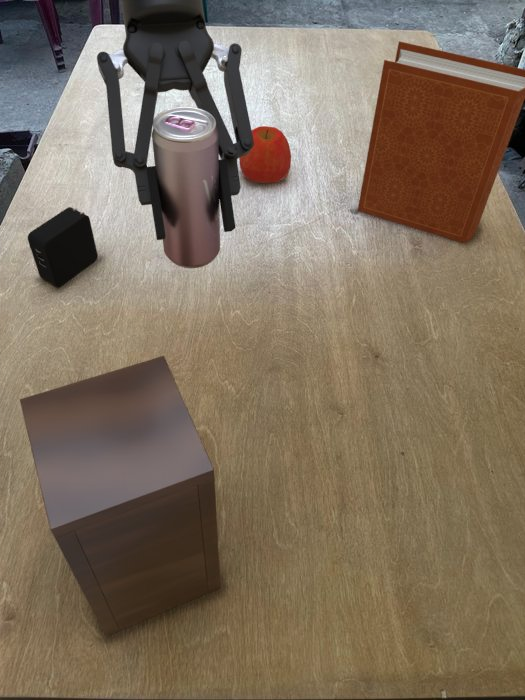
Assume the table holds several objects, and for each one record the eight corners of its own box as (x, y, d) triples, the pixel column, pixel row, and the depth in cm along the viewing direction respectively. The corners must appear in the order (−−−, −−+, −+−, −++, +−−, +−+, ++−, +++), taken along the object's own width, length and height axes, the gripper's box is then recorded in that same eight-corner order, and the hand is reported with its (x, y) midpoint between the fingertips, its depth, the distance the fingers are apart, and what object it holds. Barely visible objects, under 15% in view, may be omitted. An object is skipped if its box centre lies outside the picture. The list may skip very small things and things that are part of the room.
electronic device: (40, 279, 109) (25, 234, 101) (82, 249, 114) (71, 204, 107) (57, 289, 107) (43, 244, 100) (98, 259, 113) (89, 213, 105)
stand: (77, 529, 79) (19, 398, 58) (182, 490, 83) (163, 355, 62) (106, 636, 71) (50, 529, 50) (220, 587, 75) (214, 469, 54)
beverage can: (182, 228, 69) (172, 99, 58) (230, 244, 68) (229, 115, 56) (153, 259, 66) (137, 128, 54) (203, 278, 64) (197, 147, 53)
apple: (250, 195, 127) (251, 148, 119) (230, 167, 133) (230, 121, 125) (298, 184, 130) (302, 137, 122) (276, 157, 136) (278, 111, 128)
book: (357, 210, 125) (384, 60, 102) (370, 189, 130) (399, 41, 107) (470, 245, 119) (525, 93, 96) (480, 221, 124) (534, 71, 101)
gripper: (251, 0, 64) (281, 227, 66) (59, 10, 60) (98, 249, 62) (266, -41, 56) (299, 217, 58) (48, -32, 53) (92, 241, 55)
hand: (195, 233), depth 60 cm, fingers closed on beverage can, 6 cm apart
